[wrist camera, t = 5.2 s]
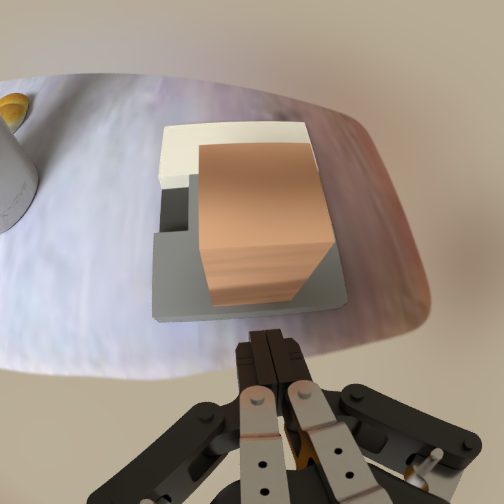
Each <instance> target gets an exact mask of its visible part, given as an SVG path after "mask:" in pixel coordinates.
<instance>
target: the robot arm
mask: <svg viewBox="0 0 504 504" xmlns="http://www.w3.org/2000/svg"><path fill="white" fill-rule="evenodd" d="M37 185H38V172H37V169H36V167H35V166H34V164H33V163H32V162H31V160H30V159H29V157H28V156H27V154H26V153H25V151H24V150H23V148H22V147H21V145H20V144H19V142H18V141H17V139H16V138H15V136H14V134H13V133H12V131H11V130H10V128H9V127H8V125H7V123H6V122H5V120H4V119H3V117H2V115H1V114H0V233H2V232H4V231H6V230H8V229H9V228H10V227H12V226H13V225H14V224H15V223H16V222H17V221H18V220H19V219H20V218H21V216H22V215H23V214H24V213H25V211H26V210H27V208H28V207H29V205H30V203H31V201H32V199H33V197H34V195H35V192H36V189H37ZM235 352H236V366H237V377H238V386H239V395H238V397H237V398H236V399H235V400H234V401H233V402H231V403H229V404H226V405H223V406H219V405H217V404H215V403H212V402H202V403H198V404H196V405H194V406H193V407H192V408H191V409H190V410H189V411H188V412H187V413H186V414H184V415H183V416H182V418H180V419H179V420H178V421H177V422H176V423H175V424H174V425H172V426H171V427H170V428H169V429H168V430H167V431H166V432H165V433H164V434H162V435H161V436H160V437H159V438H158V439H157V440H156V441H155V442H153V443H152V444H151V445H150V446H149V447H148V448H147V449H145V450H144V451H143V452H142V453H141V454H140V455H138V456H137V458H135V459H134V460H133V461H131V462H130V463H129V464H128V465H127V466H125V467H124V468H123V469H122V470H121V471H119V472H118V473H117V474H116V475H114V476H113V477H112V478H111V479H109V480H108V481H107V482H106V483H104V484H103V485H102V486H101V487H99V488H98V489H97V490H96V491H94V492H93V493H92V494H91V495H90V496H89V497H88V499H87V504H182V503H183V502H184V501H185V500H186V499H187V498H188V497H189V496H190V495H191V494H192V493H193V492H194V491H195V490H196V489H197V488H198V487H199V486H200V484H201V483H202V482H203V481H204V480H205V479H206V478H207V477H208V476H209V475H210V474H211V473H212V472H213V470H214V469H215V468H216V467H217V466H218V465H219V464H220V463H221V462H222V460H223V459H224V458H225V457H226V456H227V455H228V453H229V452H230V451H233V450H235V449H238V448H240V476H241V477H240V480H238V481H235V482H233V483H231V484H230V485H228V486H227V487H225V488H224V489H223V490H222V491H220V492H219V494H218V495H217V496H216V497H215V498H214V499H213V501H212V502H211V503H210V504H450V503H449V502H450V500H451V498H452V496H453V494H454V492H455V489H456V487H457V485H458V483H459V481H460V478H461V476H462V473H463V471H464V469H465V468H466V467H467V466H468V465H469V464H470V463H471V462H472V461H473V460H474V459H475V458H476V457H477V456H478V455H479V453H480V452H481V449H482V442H481V439H480V438H479V436H477V434H475V433H473V432H470V431H468V430H465V429H463V428H460V427H458V426H455V425H452V424H450V423H447V422H445V421H443V420H440V419H438V418H435V417H433V416H431V415H428V414H426V413H423V412H421V411H419V410H417V409H414V408H412V407H409V406H408V405H405V404H403V403H401V402H399V401H397V400H394V399H392V398H390V397H388V396H386V395H383V394H381V393H379V392H377V391H375V390H373V389H371V388H368V387H367V386H364V385H362V384H350V385H348V386H346V387H345V388H344V389H343V390H342V392H338V391H327V390H324V389H321V388H320V387H319V386H318V385H317V384H316V383H314V382H313V381H312V378H311V375H310V373H309V370H308V367H307V365H306V362H305V360H304V357H303V354H302V353H301V349H300V347H299V344H298V343H297V342H296V341H295V340H294V339H293V338H285V339H284V338H283V335H282V332H281V330H280V329H272V330H265V332H264V330H261V331H250V332H249V342H243V343H239V344H238V346H237V348H236V350H235ZM278 416H283V418H284V421H285V423H284V431H285V434H286V437H287V440H288V442H289V445H290V448H291V451H292V454H293V457H294V460H295V463H296V470H286V467H285V459H284V452H283V444H282V437H281V435H280V434H279V428H278V420H277V417H278ZM363 456H365V457H367V458H369V459H371V460H373V461H375V462H377V463H379V464H381V465H383V466H385V467H387V468H390V469H392V470H394V471H396V472H398V473H400V474H402V475H404V480H405V481H404V480H402V479H400V478H398V477H396V476H394V475H392V474H390V473H388V472H386V471H384V470H383V469H380V468H379V467H377V466H375V465H373V464H370V463H367V462H366V461H365V459H364V457H363Z"/></svg>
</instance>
